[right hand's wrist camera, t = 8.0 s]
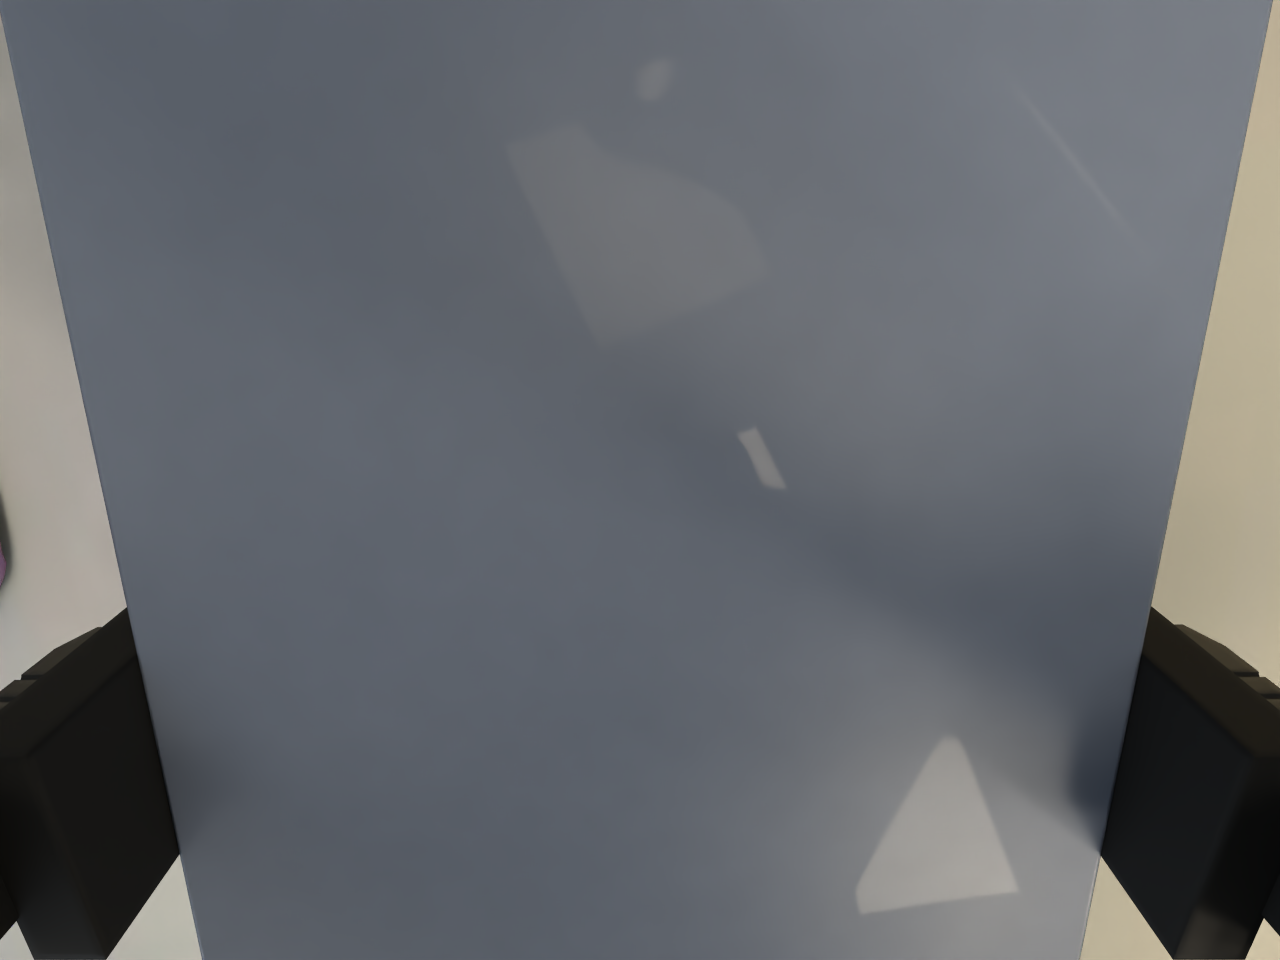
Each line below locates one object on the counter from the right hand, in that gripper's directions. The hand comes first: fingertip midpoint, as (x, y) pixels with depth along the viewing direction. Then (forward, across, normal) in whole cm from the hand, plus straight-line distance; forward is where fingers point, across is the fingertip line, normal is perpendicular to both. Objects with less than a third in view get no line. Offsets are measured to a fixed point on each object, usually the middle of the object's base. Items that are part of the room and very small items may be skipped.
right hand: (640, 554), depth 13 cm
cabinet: (+6, 0, -3) cm, 7 cm away
